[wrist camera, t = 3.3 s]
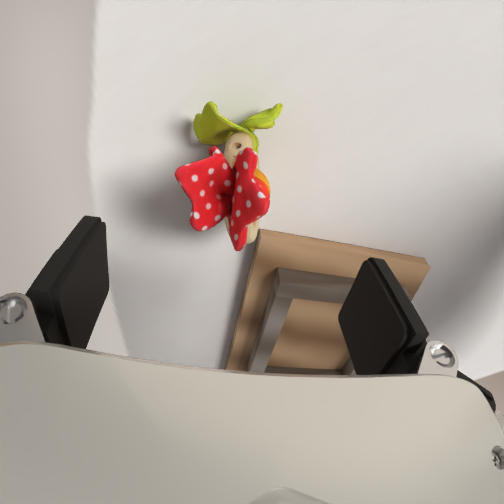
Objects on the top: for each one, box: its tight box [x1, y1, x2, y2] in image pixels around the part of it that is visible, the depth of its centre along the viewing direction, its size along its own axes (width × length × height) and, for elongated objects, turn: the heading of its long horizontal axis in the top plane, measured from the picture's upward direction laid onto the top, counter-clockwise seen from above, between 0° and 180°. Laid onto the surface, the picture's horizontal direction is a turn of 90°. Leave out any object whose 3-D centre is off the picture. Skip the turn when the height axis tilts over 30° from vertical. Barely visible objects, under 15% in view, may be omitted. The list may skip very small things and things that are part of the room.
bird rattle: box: [175, 102, 283, 251], centre depth 19 cm, size 6×11×9 cm
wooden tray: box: [225, 229, 430, 375], centre depth 32 cm, size 20×17×4 cm
